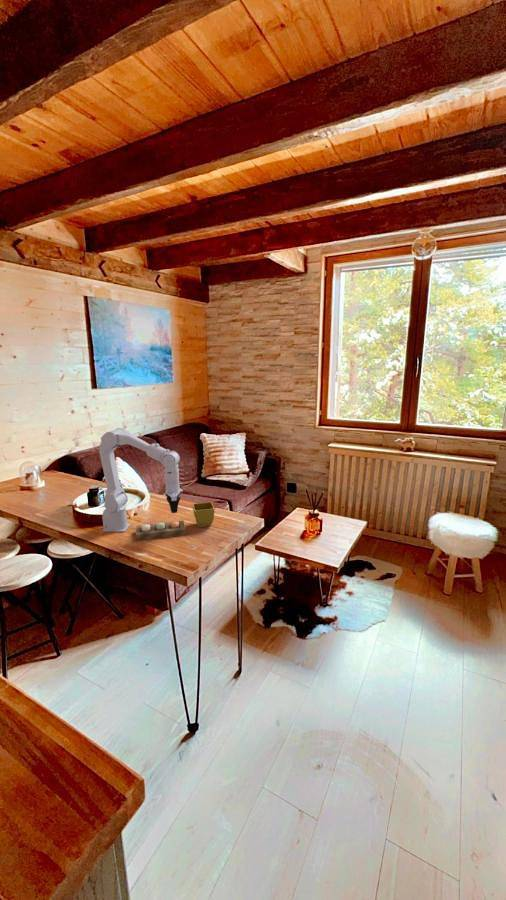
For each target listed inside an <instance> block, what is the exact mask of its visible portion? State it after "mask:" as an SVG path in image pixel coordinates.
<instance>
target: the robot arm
mask: <svg viewBox="0 0 506 900" xmlns="http://www.w3.org/2000/svg"><path fill="white" fill-rule="evenodd" d="M124 445H125V446H126V445H130V446H132V447H133V448H136V449H139V450H141V451H143V452H146V455H147V457H149V458H151V459H154V460H156V461H157V462H160V463H161V465H162V466H163V467H164V479H165V480H164V482H165V483H164V484H165V496H166V501H167V502H168V505H169V509H170V511H171V512H170V513H172V514H176V513H178V506H179V503H180V501H181V496H180V493H183V489H182V488H180V486H181V485H180V473H179V472H180V470H179V462H180V459H181V457H180V454H179V453H178V452H177V451H176V450H170V449H169V448H167V449H166V448H164V447H162V446H160V444H159V443H151V444H150V443H148V442H147V441H145V440H143V439H141V438H139V437H137V436H136V435H134V434H132V433H131V432H130V431H128V430H126V429H123V428H121V427H117V428H115V429H112V430H110V431H106V432H105V433H104V434H103V435H102V436H101V437H100V445H99V448H98V452H99V457H100V462H101V467H102V471H103V475H104V479H105V485H106V492H105V494H104V504H103V505H104V508H105V509H104V510H103V512H102V524H103V530H102V532H107V533H108V532H111V533H113V532H116V533H117V532H118V533H122V532H123V533H124V532H126V531H127V529H129V527H130V525H131V523H130V522H128V520H127V519H128V518H127V508H126V507H127V506H126V504H127V502H128V499H129V498H128V495H127V493H126V492H125V489H124V488H123V486H121V483H120V478H119V472H118V468H117V467H118V466H117V462H116V458H115V453H114V451H115V450H116V449H117V448H118V447H119V446H124Z"/></svg>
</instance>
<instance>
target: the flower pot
mask: <svg viewBox="0 0 506 900" xmlns="http://www.w3.org/2000/svg"><path fill="white" fill-rule="evenodd" d="M215 509H216V508H215V507H214V504H213V502H212V501H205V502H197V503H192V510H193V515H194V518H195V522H196V524H197V526H198V527H199V528H204V527H210V526H212V524H213V523H214V518H215Z"/></svg>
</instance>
